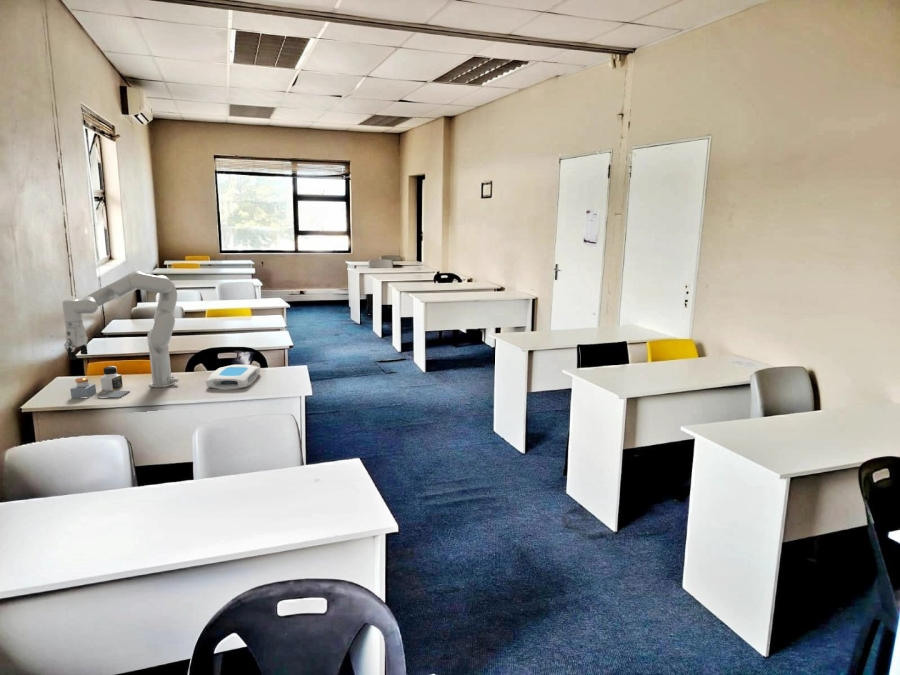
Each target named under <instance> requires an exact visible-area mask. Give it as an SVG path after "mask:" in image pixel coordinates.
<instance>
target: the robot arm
mask: <svg viewBox="0 0 900 675" xmlns="http://www.w3.org/2000/svg"><path fill="white" fill-rule="evenodd" d="M137 290H140V291H146V292H151V293H157V294H159V297H158V298H159V299H158V303H157V307H156V309H155V313H154V315H153V320H154V322H153V326H152V328H151V329H150V330H149V331H148V333H147V334H146V335H147V337H146V338H147V339H146V340H147V345H148V353H149V360H150V361H149V362H150V372H151V382H149V386H150V387H151V388H166V387H171V386H173V385H175V384H176V383H178V382H179V380H180V379H179V377H174V374H172V371H171V370H172V369H171V358H170V350H169V343H170V341H171V338H172V335H173V331H174V327H175V324H176V323H175V322H176V319H175V318H176V317H175V316H174V313H175V308H176V306H177V301H178V292H177V288H176V286H175V284H174V283H173V282H172V280H171V279H170V278H168V277H167V276H166V275H163V274H159V275H152V274H146V273H144V272H142V271H139V270H135V271H132V272H130V273H128V274H127V275H125V276H123V277H121V278H118V279H117V280H115V281H113V282H111V283H109V284H107V285H105V286H104V287H102V288H99V289H98V290H96V291H93V292H92V293H90V294H88V295H86V296H85V297H83V298H82V299H81V300H79V299H78V298H77V299H76V298H67V299H64V300H62V312H63V317H64V324H65V325H64V326H65V343H64V344H63V347H64V349H65V351H66V352H67V356H68V360H76V359H77V357H76V352H75V349H76V348H79V350H80V354H81V355H84V356H85V355H88V342H89V341H88V339H89V337H88V336H87V332H86V328H85V325H84V323H83V322H84V321H83V314H84V315H85V314H86V315H90V314H94V313H96V312H97V311H98V309H99V307H101V306H103V305H104V304H106V303H108V302H111V301H114V300H119V299H122V298H123V297H126V296H127V295H129V294H131V293H133V292H135V291H137Z"/></svg>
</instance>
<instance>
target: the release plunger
mask: <svg viewBox="0 0 900 675" xmlns="http://www.w3.org/2000/svg"><path fill="white" fill-rule="evenodd" d="M75 383H76V386H77V388H85V387H87V386H88V384H89V377H78V378H76V379H75Z"/></svg>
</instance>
